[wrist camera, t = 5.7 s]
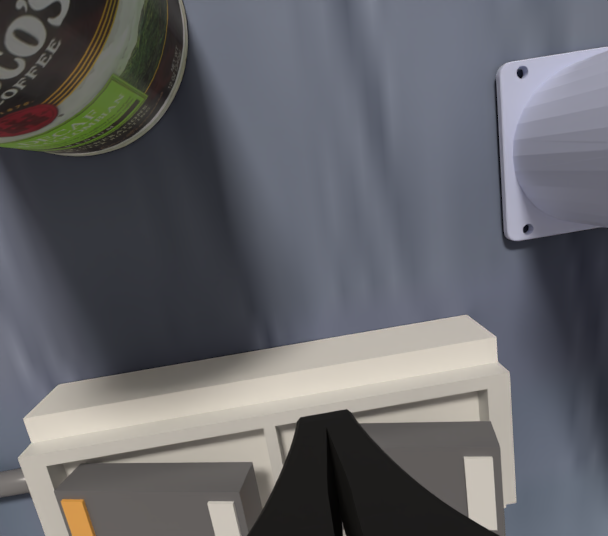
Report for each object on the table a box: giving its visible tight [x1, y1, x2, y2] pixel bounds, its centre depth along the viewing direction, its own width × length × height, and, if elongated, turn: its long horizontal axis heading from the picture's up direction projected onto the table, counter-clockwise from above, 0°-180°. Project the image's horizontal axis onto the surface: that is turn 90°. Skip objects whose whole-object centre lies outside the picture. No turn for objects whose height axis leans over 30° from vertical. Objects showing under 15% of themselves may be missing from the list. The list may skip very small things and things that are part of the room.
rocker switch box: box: [0, 315, 516, 536], centre depth 20 cm, size 27×9×4 cm, turn 99°
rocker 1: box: [54, 462, 263, 536], centre depth 17 cm, size 8×4×2 cm, turn 99°
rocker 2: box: [342, 421, 505, 536], centre depth 18 cm, size 8×4×2 cm, turn 99°
